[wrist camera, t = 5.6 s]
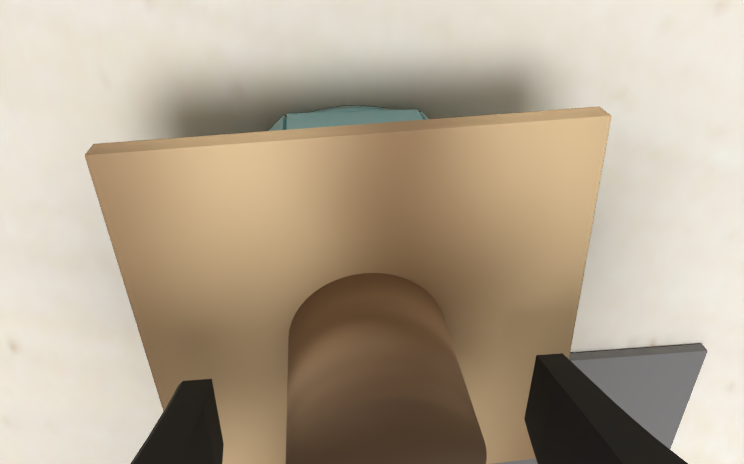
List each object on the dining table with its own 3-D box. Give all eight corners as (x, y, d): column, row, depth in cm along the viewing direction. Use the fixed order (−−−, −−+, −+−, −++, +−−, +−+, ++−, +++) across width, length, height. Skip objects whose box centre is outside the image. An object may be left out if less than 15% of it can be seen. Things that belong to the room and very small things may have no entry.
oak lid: (193, 481, 18) (164, 648, 14) (93, 143, 12) (-2, 265, 9) (544, 440, 19) (609, 588, 15) (599, 106, 13) (725, 201, 9)
